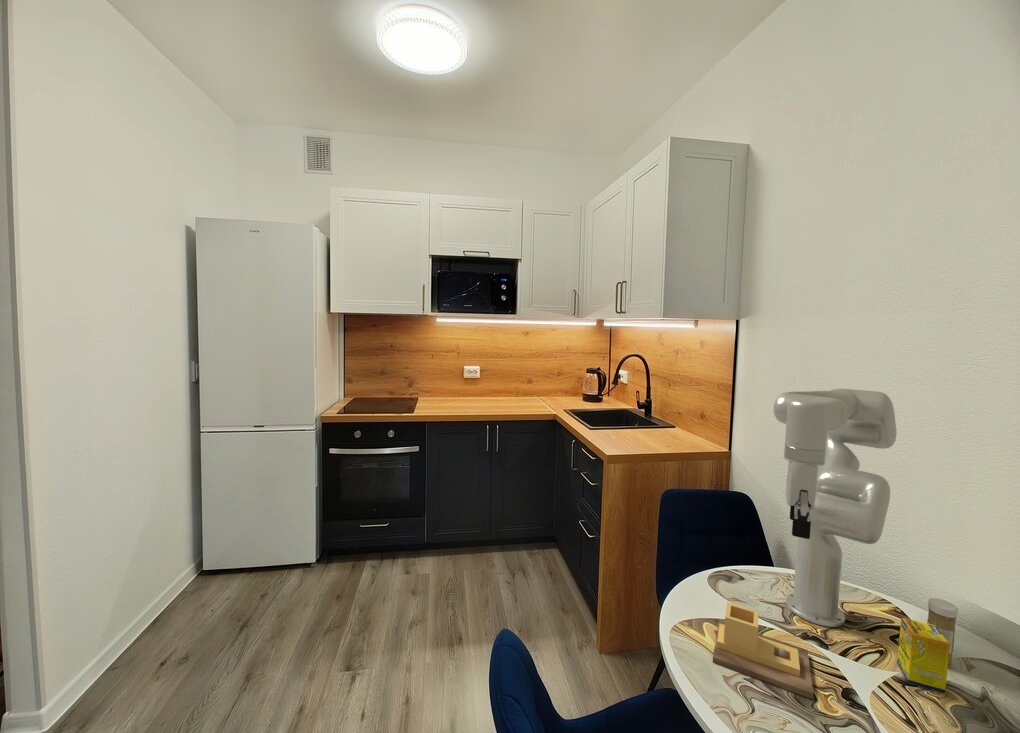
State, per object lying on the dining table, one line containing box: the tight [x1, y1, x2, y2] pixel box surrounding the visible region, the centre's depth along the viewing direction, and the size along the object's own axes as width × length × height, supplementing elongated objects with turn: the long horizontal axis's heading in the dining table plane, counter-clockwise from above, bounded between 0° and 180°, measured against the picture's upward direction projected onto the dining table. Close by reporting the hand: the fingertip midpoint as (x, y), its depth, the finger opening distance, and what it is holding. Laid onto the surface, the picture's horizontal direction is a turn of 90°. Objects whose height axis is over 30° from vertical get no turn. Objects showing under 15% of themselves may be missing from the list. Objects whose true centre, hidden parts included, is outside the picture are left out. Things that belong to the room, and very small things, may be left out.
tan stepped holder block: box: [717, 601, 800, 677], centre depth 94 cm, size 16×7×8 cm, turn 59°
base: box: [712, 620, 814, 700], centre depth 94 cm, size 14×18×5 cm
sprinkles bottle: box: [926, 597, 959, 668], centre depth 94 cm, size 5×5×14 cm
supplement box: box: [896, 617, 950, 694], centre depth 89 cm, size 6×6×11 cm
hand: (799, 528), depth 96 cm, fingers open, 9 cm apart
